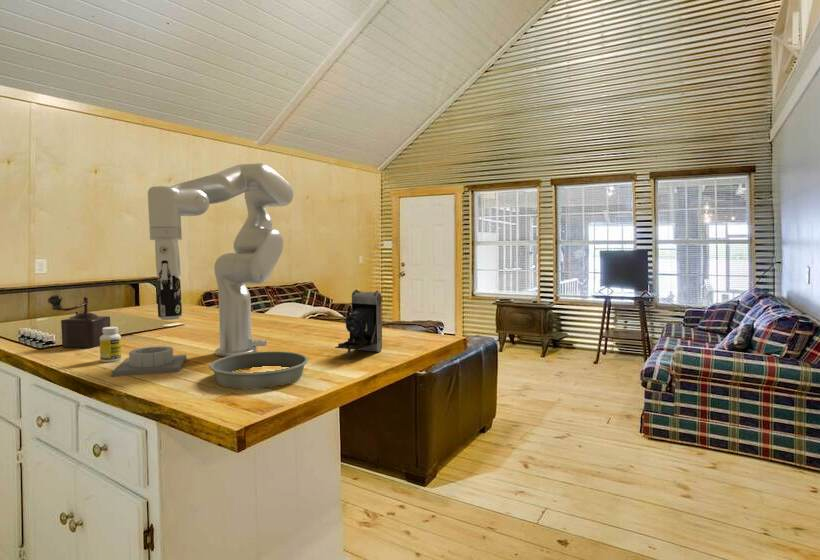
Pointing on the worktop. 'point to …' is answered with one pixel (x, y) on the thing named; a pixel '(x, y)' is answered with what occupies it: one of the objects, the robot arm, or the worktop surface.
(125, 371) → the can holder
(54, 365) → the worktop surface
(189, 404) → the worktop surface
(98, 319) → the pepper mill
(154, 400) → the worktop surface
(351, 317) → the vintage camera
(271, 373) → the cake pan
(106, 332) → the supplement bottle
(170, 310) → the beverage can
